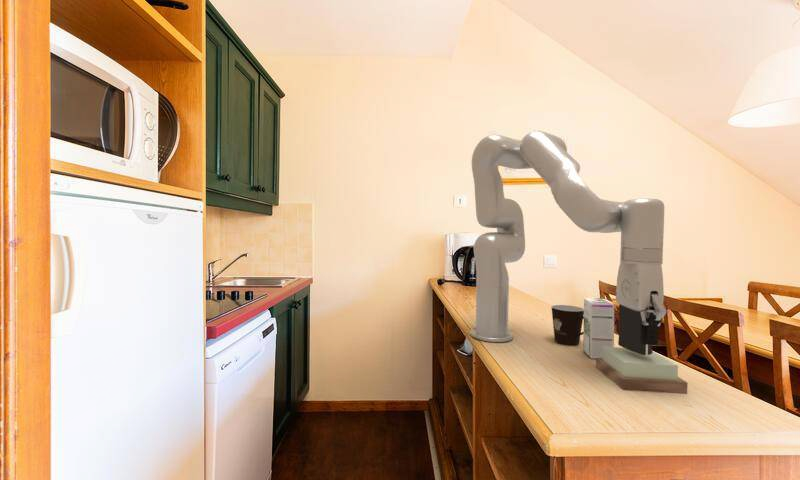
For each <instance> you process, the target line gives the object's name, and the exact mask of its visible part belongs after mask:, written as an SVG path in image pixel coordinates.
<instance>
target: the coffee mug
mask: <svg viewBox="0 0 800 480" xmlns="http://www.w3.org/2000/svg"><path fill="white" fill-rule="evenodd" d="M551 314H552V315H551V316H552V317H551V319H552V324H553V336H554V342H555V343H557V344H559V345H564V346H570V347H571V346H572V347H573V346H575V347H576V346H579V345H580V340H581V336H583V334H584V331H582V329H583V323H584V307H580V306H576V305H569V304H568V305H567V304H555V305H554V304H553V305H551Z"/></svg>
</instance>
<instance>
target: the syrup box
mask: <svg viewBox="0 0 800 480" xmlns="http://www.w3.org/2000/svg"><path fill="white" fill-rule="evenodd" d="M583 309H584V315H583V317H584V319H583V332H584V334H583V335H582V337H583V342H582V343H583V349H582V350H583V352H584V353H585V354H586V355H587V356H588V358H590V359H595V360H596V358H602V347H615V346H614V345H615V303H614V302H612V301H610V300H608V299H606V298H598V297H597V298H596V297H587V298H586V297H584V298H583Z"/></svg>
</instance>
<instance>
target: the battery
mask: <svg viewBox="0 0 800 480" xmlns="http://www.w3.org/2000/svg"><path fill="white" fill-rule="evenodd" d="M618 307H619V308H618V343H617V344H618V346H619V347H620V348H626V349H628V350H630V351H633V352H636V353H638V354H641V355H650V354H652V353H653V352H654V351H653V349H652V345H646V344H641V343H640V326H641V324H643V321H642V317H641V313H640V311H634V310H631V309H629V308H626V307H624V306H622V305H620V304H618ZM645 310H652V308H651V307H648V306H647V308H646V309H645ZM650 315H651V314H649V313H647V317H648V318H649V316H650ZM652 351H653V352H652Z"/></svg>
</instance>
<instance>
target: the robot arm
mask: <svg viewBox="0 0 800 480" xmlns="http://www.w3.org/2000/svg"><path fill="white" fill-rule="evenodd" d="M499 167H503V168H508V169H514V170H523V169H524V170H525V169H532V170H534V171H535V172H536V173H537V174H538V176H539V177H540V178H542V180H543V181H544V182H545V183H546V184H547V185H548V187H549V188H550V191H551V194H552V196H553V197H552V198H554V201H555V203H556V205H558V207H559V208H560V209H561V210H562V212H563V213H564V214H565V215H566V216H567V217H568V218H569V220H571V222H572V223H573V224H574V225H576V226H577V228H579V229H581V230H583V231H584V232H587V233H600V234H601V233H602V234H607V233H608V234H611V233H620V259H619V266H618V271H617V277H616V288H615V302H616V303H617V304H618V305H619V304H620V305H622V306H624V307H626V308H629V309H631V310H634V311H640V313H641V317H642V321H643V324H641V326H640V343H641V344H646V345H651V346H657V345H658V344H659V330H660V329H659V327H660V326H661V322H662V321H663V319H664V317H665V316H666V314H667V308H666V307H665V306H664V299H665V298H664V292H665V291H664V276H663V267H662V265H663V260H664V259H663V258H664V257H663V256H664V234H665V232H664V231H665V230H664V229H665V204H664V202H663V201H662V200H661V199H658V198H657V199H656V198H636V199H635V198H634V199H629V200H626V201H623V202H622V201H615V200H614V201H613V200H608V199H602V198H600V197H598V196H597V194H596V193H594V192H593V191H592V190H591V189H590V188H589V187H588V185H587V184H586V183H585V182H584V181H583V180H582V178H581V176H580V174H579V173H580V171H581V165H580V164H579V162H578V161H577V160H576V159H575V158H573V156H571V154H570V153H568V147H567V145H566V143H565V141H564V140H563V139H562V138H561V137H559V136H556V135H554V134H550V133H548V132H545V131H541V130H534V131H531V132H528V133H526V135H525V136H523V138H522V139H521V140H519V139H515V138H512V137H510V136H505V135H501V134H490V135H487V136H484V137H483V138H482V139H481V140H480V141H479V142H478V143H477V145H476V146H475V147H474V150H473V152H472V156H471V171H472V176H473V184H474V199H475V212H476V213H475V215H476V221H477V223H478V224H479V225H480V226H481V227H482V228H488V229H496V231H495V232H494V231H493V232H492V231H491V232H485V233H482V234H481V235H479V236H478V237H477V238H476V239H475V241H474V245H473V254H474V255H473V257H474V263H475V270H476V271H475V272H476V276H475V277H476V278H475V279H476V283H475V285H476V289H475V290H476V291H475V293H476V295H475V307H476V308H475V327H474V328H472V329H471V330H470V336H471V337H472V338H474V339H475V340H476V339H477V340H480V341H482V342H483V341H484V342H491V343H505V342H510V341H512V340H513V339H514V333H513V332H512V331H510V330H509V299H510V298H509V297H510V296H509V295H510V293H509V291H510V279H509V278H510V277H509V272H508V269H507V265H506V264H511V263H515V262H517V261H519V260H520V259H522V257H524V254H525V250H526V238H525V221H524V214H523V210H522V207H521V206H520V204H519V203H518V202H517V201H515V200H514V199H511V198H506V197H505V193H504V182H503V177H502V175H501V173H500V172H499ZM647 306H648V307H651V308H652V310H645V309H646V308H647ZM647 313H649V314H651V315H650V316H649V318H648V317H647Z"/></svg>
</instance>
